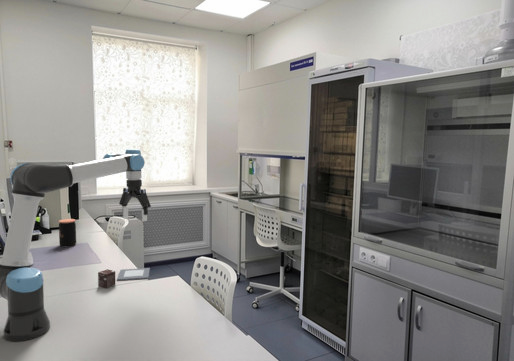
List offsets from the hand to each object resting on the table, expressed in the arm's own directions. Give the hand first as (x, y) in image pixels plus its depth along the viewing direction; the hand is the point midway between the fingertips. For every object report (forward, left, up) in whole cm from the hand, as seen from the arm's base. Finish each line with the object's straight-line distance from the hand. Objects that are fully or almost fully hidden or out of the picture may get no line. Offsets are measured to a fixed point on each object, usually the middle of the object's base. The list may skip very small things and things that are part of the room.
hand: (135, 219), depth 195 cm
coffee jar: (+83, +53, -33) cm, 103 cm away
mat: (+10, +2, -33) cm, 34 cm away
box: (-4, +14, -33) cm, 36 cm away
